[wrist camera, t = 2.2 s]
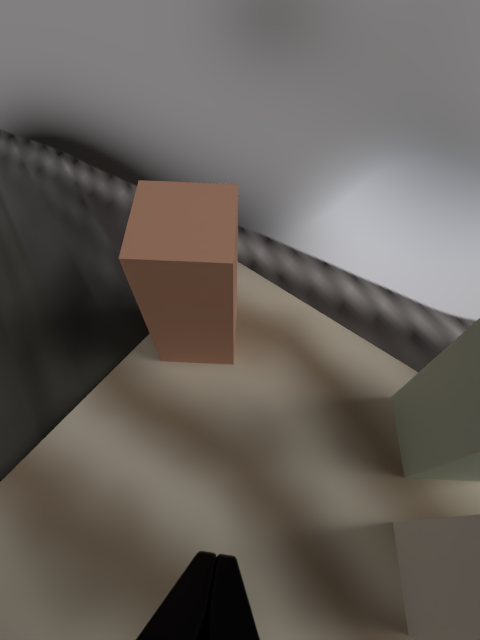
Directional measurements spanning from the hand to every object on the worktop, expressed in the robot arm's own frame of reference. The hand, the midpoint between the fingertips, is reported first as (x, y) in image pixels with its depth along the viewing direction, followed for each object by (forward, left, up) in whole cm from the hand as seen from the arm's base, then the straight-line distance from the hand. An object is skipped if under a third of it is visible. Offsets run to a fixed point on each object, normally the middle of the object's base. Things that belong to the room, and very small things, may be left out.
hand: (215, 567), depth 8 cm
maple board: (+3, 0, -13) cm, 13 cm away
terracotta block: (+9, +9, -12) cm, 17 cm away
